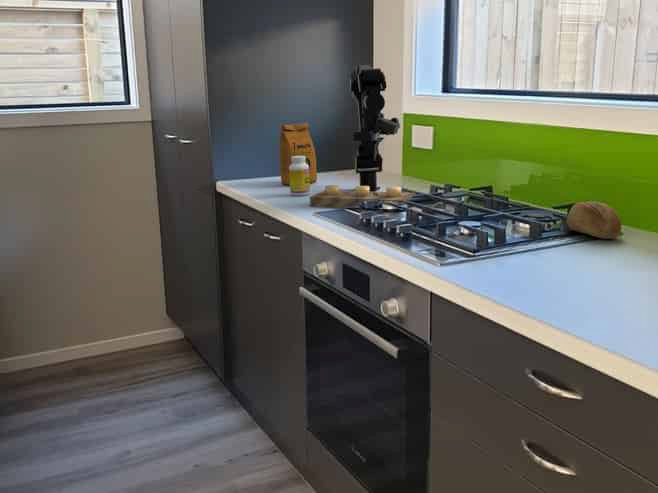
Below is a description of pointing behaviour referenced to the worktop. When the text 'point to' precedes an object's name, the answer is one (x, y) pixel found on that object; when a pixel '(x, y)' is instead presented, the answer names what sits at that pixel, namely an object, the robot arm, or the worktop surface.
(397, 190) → the button
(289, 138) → the coffee package
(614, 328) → the worktop surface
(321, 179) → the worktop surface
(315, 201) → the mount board
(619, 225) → the bread roll
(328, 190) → the button
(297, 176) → the supplement bottle
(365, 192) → the button centre
